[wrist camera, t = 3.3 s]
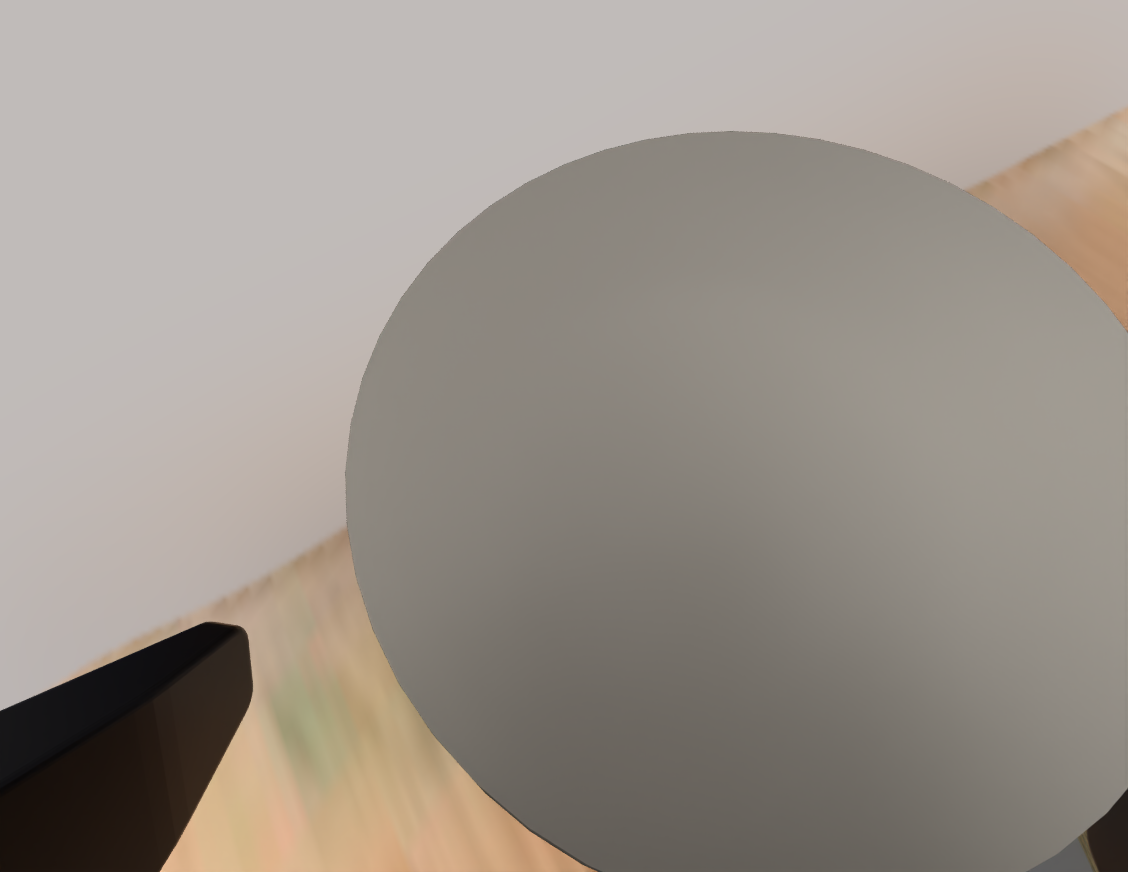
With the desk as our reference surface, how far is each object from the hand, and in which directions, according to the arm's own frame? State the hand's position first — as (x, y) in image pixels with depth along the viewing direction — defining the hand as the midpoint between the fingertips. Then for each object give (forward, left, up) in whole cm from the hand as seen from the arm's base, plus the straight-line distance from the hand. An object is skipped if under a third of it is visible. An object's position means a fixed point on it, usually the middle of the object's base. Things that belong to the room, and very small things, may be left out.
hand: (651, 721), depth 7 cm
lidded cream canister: (+1, -1, -9) cm, 9 cm away
